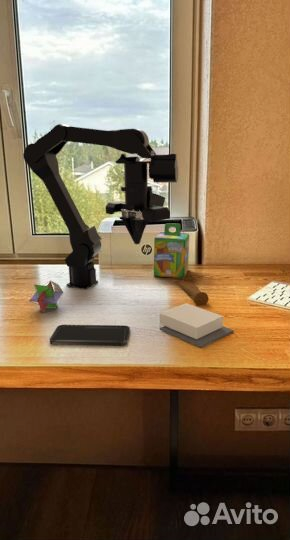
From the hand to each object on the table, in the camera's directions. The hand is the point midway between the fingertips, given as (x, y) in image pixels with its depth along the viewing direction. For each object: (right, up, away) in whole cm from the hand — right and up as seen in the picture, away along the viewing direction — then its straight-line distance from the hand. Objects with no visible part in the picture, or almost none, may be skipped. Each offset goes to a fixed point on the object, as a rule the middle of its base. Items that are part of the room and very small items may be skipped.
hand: (137, 243), depth 106 cm
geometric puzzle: (-21, -16, -10) cm, 28 cm away
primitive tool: (+14, -13, +1) cm, 19 cm away
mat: (+12, -19, -22) cm, 32 cm away
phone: (-9, -20, -24) cm, 33 cm away
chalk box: (+10, -8, +16) cm, 20 cm away
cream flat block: (+8, -16, -18) cm, 26 cm away
